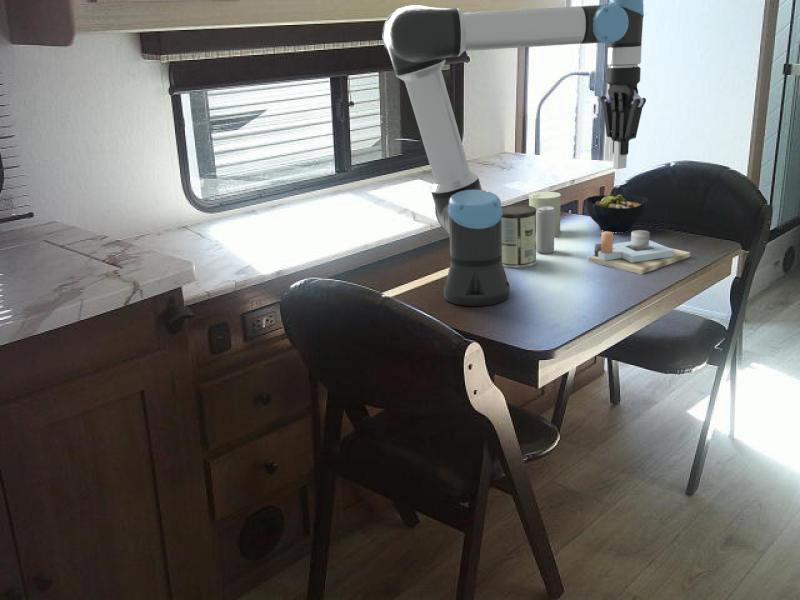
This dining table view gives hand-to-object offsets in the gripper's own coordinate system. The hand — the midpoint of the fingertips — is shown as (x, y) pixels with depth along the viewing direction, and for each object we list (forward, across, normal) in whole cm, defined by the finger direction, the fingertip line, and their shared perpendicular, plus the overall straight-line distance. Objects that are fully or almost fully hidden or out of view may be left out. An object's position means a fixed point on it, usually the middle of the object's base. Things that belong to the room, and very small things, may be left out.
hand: (619, 167), depth 191 cm
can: (+25, +35, -5) cm, 43 cm away
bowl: (+25, +26, -24) cm, 43 cm away
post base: (+24, 0, -8) cm, 26 cm away
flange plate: (+23, +1, -6) cm, 24 cm away
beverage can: (+25, +20, +7) cm, 33 cm away
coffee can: (+25, +17, +18) cm, 35 cm away
